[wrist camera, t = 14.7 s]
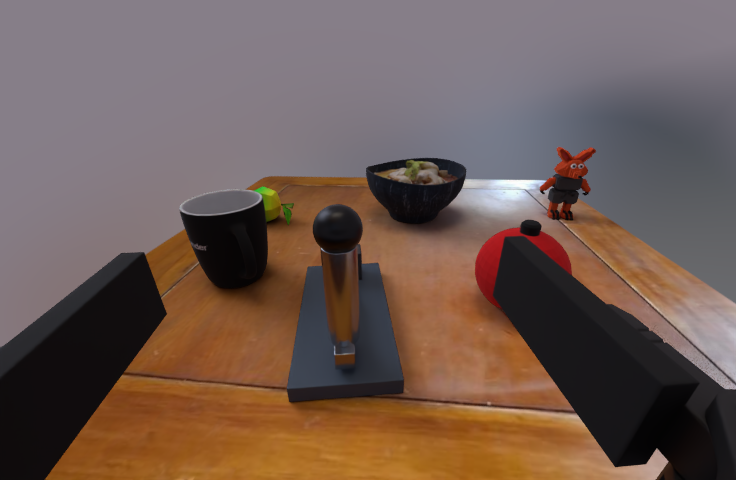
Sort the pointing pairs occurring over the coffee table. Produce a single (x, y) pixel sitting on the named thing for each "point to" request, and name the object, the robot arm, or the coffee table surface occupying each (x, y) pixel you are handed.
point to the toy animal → (567, 183)
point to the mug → (228, 235)
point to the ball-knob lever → (340, 278)
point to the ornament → (493, 247)
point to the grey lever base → (372, 350)
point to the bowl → (416, 187)
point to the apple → (273, 204)
